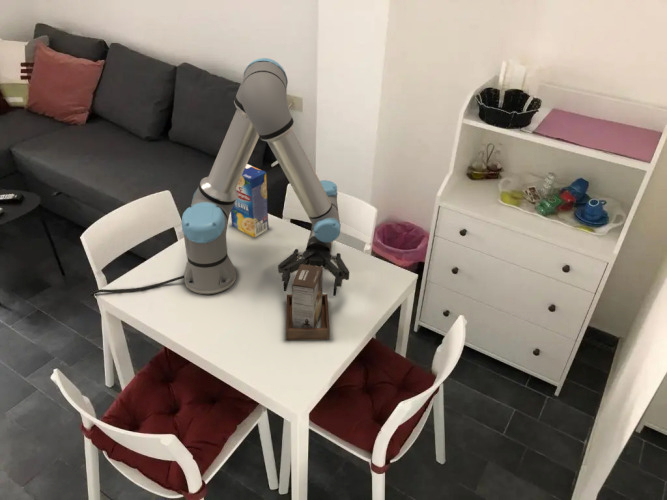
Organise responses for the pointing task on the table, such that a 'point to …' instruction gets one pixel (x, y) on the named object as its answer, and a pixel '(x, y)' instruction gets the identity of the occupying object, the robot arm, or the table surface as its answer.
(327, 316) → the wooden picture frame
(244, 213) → the beverage box
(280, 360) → the table surface
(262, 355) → the table surface
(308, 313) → the coffee box
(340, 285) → the robot arm
